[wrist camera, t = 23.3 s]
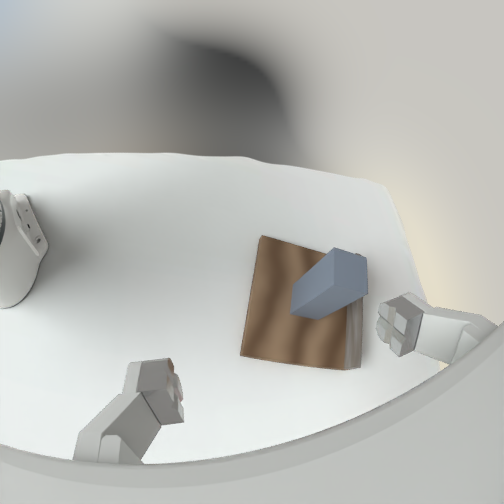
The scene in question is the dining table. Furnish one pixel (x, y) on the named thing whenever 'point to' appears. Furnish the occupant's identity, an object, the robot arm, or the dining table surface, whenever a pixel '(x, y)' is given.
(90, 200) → the dining table surface
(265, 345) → the shelf board
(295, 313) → the carton
